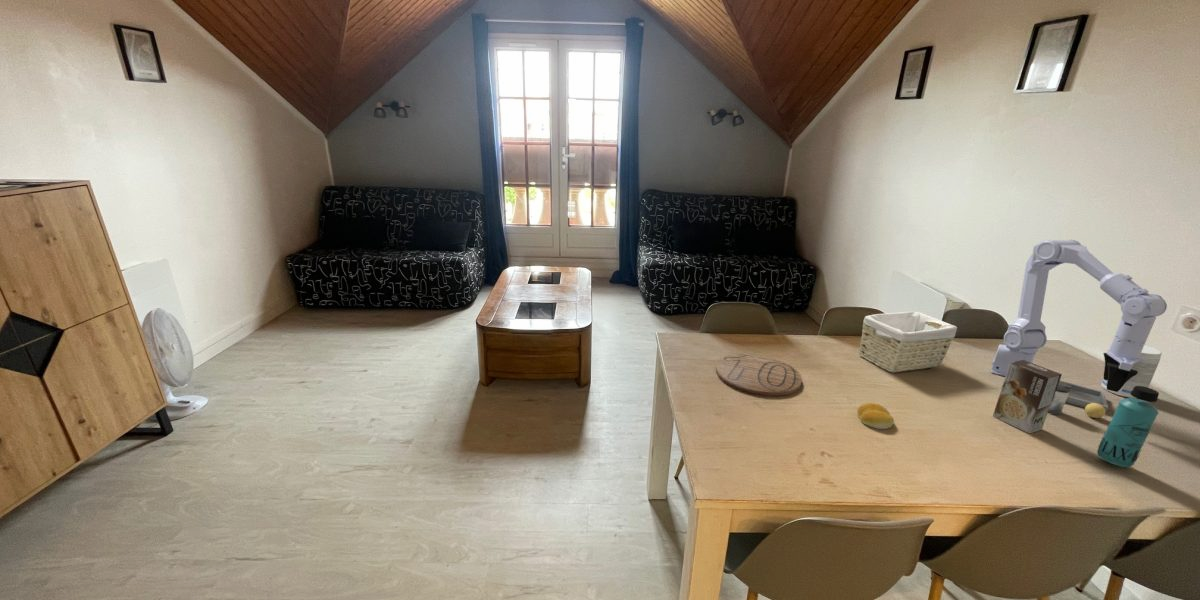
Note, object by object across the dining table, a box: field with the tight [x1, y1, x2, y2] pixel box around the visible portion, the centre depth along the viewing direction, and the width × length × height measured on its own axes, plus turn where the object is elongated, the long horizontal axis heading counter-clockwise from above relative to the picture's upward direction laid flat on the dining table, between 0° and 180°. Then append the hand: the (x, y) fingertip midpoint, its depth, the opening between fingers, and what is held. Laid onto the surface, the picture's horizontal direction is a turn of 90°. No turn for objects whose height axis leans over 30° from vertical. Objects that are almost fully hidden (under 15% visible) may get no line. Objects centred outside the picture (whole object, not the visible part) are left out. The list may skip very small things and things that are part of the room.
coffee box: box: [992, 360, 1062, 434], centre depth 130 cm, size 9×6×16 cm
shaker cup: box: [1048, 380, 1072, 416], centre depth 138 cm, size 5×5×8 cm
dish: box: [1060, 380, 1109, 415], centre depth 147 cm, size 12×12×2 cm
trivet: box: [715, 353, 803, 398], centre depth 152 cm, size 25×25×2 cm
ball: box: [1084, 403, 1106, 419], centre depth 137 cm, size 4×4×4 cm
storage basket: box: [858, 311, 958, 373], centre depth 164 cm, size 24×16×15 cm
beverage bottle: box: [1096, 386, 1160, 468], centre depth 114 cm, size 6×7×20 cm
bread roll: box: [856, 402, 895, 430], centre depth 131 cm, size 8×9×4 cm
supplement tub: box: [1100, 344, 1163, 399], centre depth 150 cm, size 10×10×15 cm
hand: (1110, 385), depth 135 cm, fingers open, 7 cm apart
